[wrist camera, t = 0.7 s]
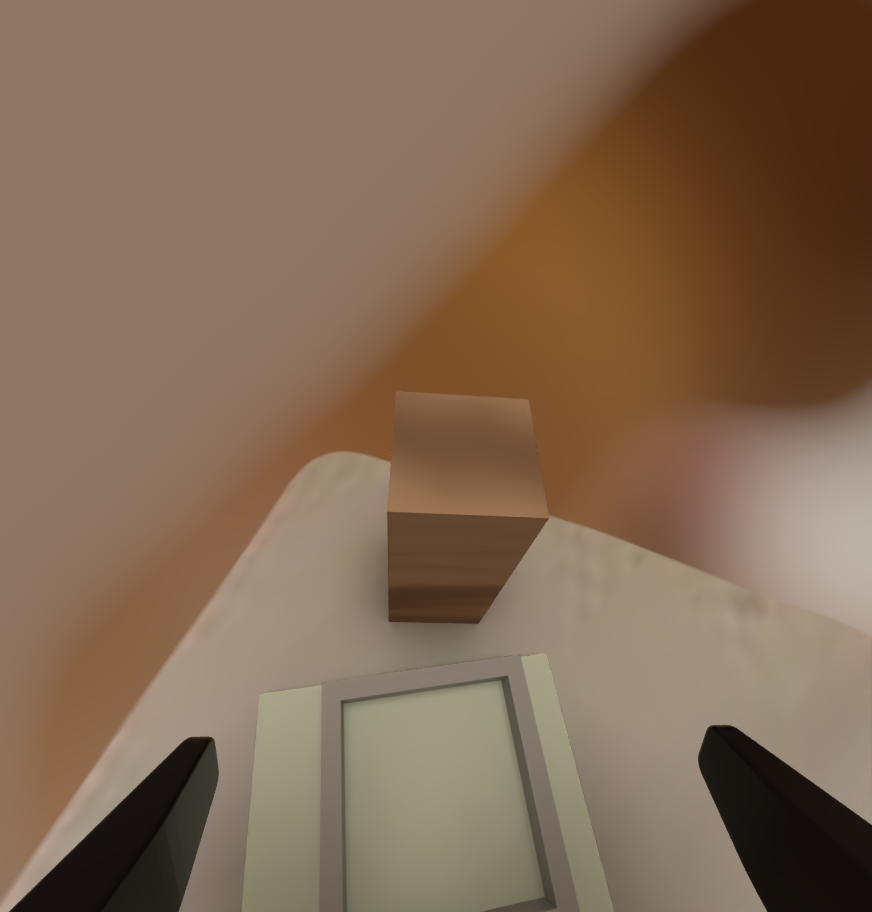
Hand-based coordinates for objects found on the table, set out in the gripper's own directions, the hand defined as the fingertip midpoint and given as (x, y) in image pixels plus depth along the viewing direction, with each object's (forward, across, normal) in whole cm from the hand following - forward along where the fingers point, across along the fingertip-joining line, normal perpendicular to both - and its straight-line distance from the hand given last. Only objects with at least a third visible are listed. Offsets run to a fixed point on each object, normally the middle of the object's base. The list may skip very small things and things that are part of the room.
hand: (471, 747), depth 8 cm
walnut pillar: (+16, -1, +7) cm, 17 cm away
